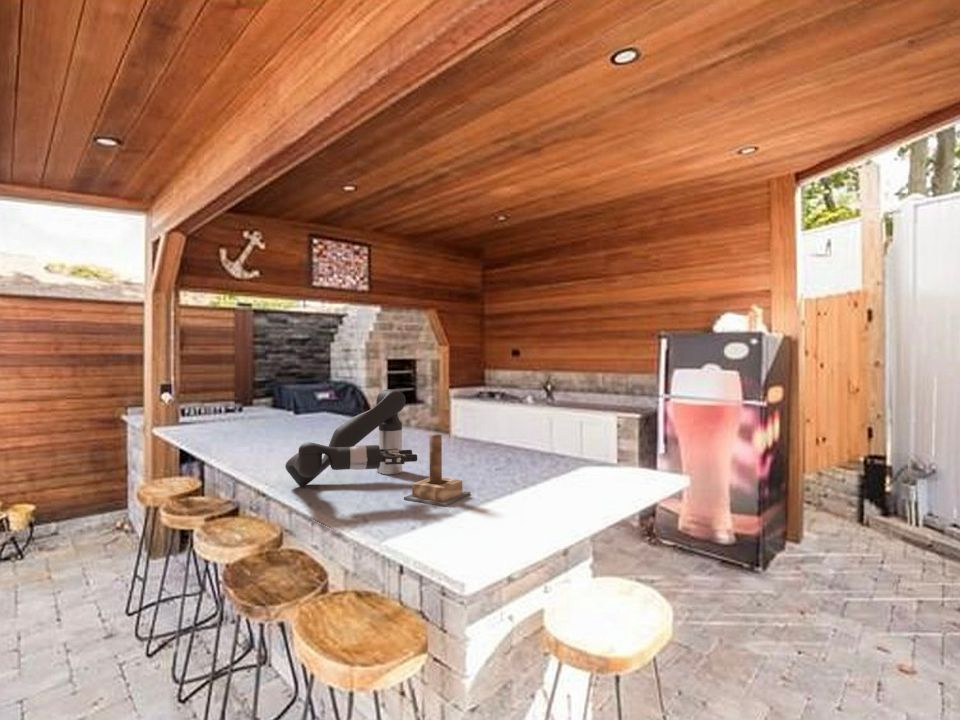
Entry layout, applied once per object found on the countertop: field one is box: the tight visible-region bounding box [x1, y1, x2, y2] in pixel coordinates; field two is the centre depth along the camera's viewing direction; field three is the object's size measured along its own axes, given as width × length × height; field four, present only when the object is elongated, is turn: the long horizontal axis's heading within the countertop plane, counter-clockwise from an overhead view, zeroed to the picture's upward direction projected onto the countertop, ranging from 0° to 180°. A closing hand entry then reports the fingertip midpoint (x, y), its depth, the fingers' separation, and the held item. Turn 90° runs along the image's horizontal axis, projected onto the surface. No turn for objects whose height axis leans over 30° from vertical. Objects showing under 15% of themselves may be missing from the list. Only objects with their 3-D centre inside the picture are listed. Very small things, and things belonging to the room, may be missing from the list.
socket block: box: [403, 477, 471, 507], centre depth 180 cm, size 16×16×5 cm
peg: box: [429, 433, 443, 485], centre depth 180 cm, size 4×4×20 cm
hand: (414, 455), depth 177 cm, fingers open, 8 cm apart
